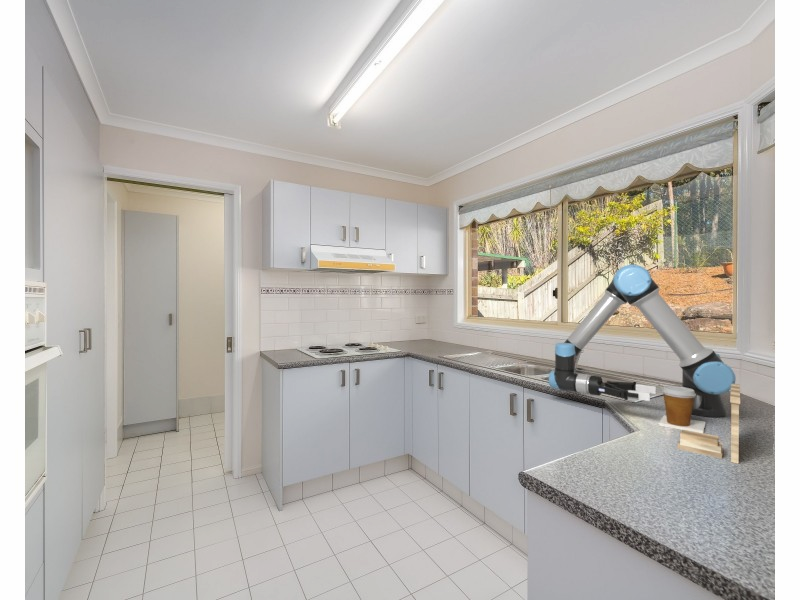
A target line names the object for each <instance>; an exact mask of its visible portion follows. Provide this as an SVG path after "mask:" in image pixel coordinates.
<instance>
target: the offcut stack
mask: <svg viewBox="0 0 800 600" xmlns="http://www.w3.org/2000/svg"><path fill="white" fill-rule="evenodd" d="M679 436H680V439H679V440H678V442H677V448H676V449H677V450H681V451H686V452H688V453H689V452H690V453H694V454H699V455H703V456H709V457H713V458H717V459H723V455H724V448H723V442H722V441H719V439H720V437H719V436H718V435H714V434H707V433H705V432H704V433H698V432H693V431H688V430H683V429H682V430H681V431H680V434H679Z"/></svg>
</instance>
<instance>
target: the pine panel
mask: <svg viewBox="0 0 800 600" xmlns="http://www.w3.org/2000/svg"><path fill="white" fill-rule="evenodd" d="M729 403H730V405H731V406H730V407H731V409H730V410H731V412H730V414H731V415H730V416H731V417H730V420H731V421H730V423H731V424H730V425H731V427H730V429H731V430H730V431H731V432H730V463H734V464H738V465H739V454H740V453H739V450H740V448H739V447H740V446H739V442H740V440H739V439H740V438H739V433H740V432H739V430H740V429H739V427H740V425H739V423H740V405H741V390H740V384H739V383H735V384H732V383H731V390H730V394H729Z"/></svg>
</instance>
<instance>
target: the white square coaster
mask: <svg viewBox="0 0 800 600" xmlns="http://www.w3.org/2000/svg"><path fill="white" fill-rule="evenodd" d="M658 423H659V424H658V426H659V427H666V428H671V429H676V430H681V431H682V429H683V430H688V431H693V432H698V433H704V434H705V429H704V428H706V421H702V420H696V419H691V420H690V425H689V426H677V425H672V424H670V423H668V422H667V417H666V414H664V415H663V416H662V417H661V419H660V421H659V422H658Z"/></svg>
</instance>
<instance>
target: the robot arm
mask: <svg viewBox="0 0 800 600" xmlns="http://www.w3.org/2000/svg"><path fill="white" fill-rule="evenodd" d="M659 291H660V287H659V285H658V284H657V283H656V282H655V280H654V279H653V278H652V275H651V274H650V272H649V270H647V268H645V267H644V266H641V265H638V264H627V265H624V266H622V267H620V268H619V269H618V270H617V271H615V274H614V276H613V278H612V280H611V282H610V283H609V285H607V287H606V289H604V293H605V294H604V295H603V296H602V297H601V298H600V299H599V301H598V302H596V304H595V305H594V306H593V307H592V309H591V310H590V311H589V313H587V315H586V316H585V317H584V319H582V320H581V322H580V323H579V324H578V326H577V327H576V328H575V329H574V330H573V331H572V332H571V334H570V335H569V336H568V337H567V339H566V340H565V341H564V342H557V343H556V344H555V345H554V346H555V347H554V355H555V356H554V361H555V362H554V365H555V367H554V370H551V371H550V372H549V374H548V384H549V387H550V388H552V389H556V390H560V391H568V392H573V393H580V395H584V394H587V395H588V394H589V395H593V396H601V395H602V394H604V395H608V396H612V397H614V398H615V397H616V398H620V399H624V401H628V400H629V399H634V400H640V401H644V402H645V401H646V402H651V394H652V395H657V386H656V385H655V386H654V385H649V384H648V385H646V384H638V383H637V381H633V382H631V381H630V382H629V381H611V380H607V381H606V382H605V381H604V382H603V379H602V376H599V375H590V374H586V373H576V371H575V370H576V369H575V366H576V365H575V364H576V358H577V356H578V355H579V354H580V353H581V352H582V351H583V349H585V347H586V346H587V345H588V344H589V343H590V341H591V340H592V339H593V338H594V337H595V335H596V334H597V333H598V332H600V330H601V329H602V328H603V326H604V325H605V324H606V323H607V322H608V321H609V319H611V317H612V316H614V314H615V313H616V311H618V310H619V308H620V307H621V306H622V305H626V304H628V305H629V306H633V307H636V308H637V309H638V310H639V312H641V314H642V315H643V316H644V318H646V320H647V321H648V322H649V323H650V325H651V326H652V327H653V328H654V330H655V331H656V333H658V334H659V335H660V336H661V338H662V339H663V340H664V342H665V343H666V344H667V345H668V347H669V348H670V349H671V350H672V351H673V353H674V354H675V355H676V357H678V359H679V367H680V368H681V370H682V372H681V373H682V383H681V384H682V386H681V387H685V388H690V389H693V390H694V392H695V394H696V396H695V397H694V403H693V408H692V414H691V415H694V416H700V417H707V416H708V418H722V417H726V416H727V409H726V406H725V403H724V401H723V398H722V396H721V395H722V394H723V395H724V394H726V393H728V392H729V391H731V383H732V384H736V381H737V380H736V374H735V372H734V370H733V369H732V368H731V367H730V366H729V365H728V364H726V363H724V361H723V360H722V358H721V355H720V354H719V353H716V352H715V351H714V350H713V349H712V348H709V347H708V348H707V347H704V345H703V344H702V343H701V342H700V340H698V338H697V337H696V336H695V335H694V334H693V332H692V331H691V330H690V329H689V328H688V327H687V325H686V324H685V323H684V322H683V321H682V319H681V318H680V317H679V316H678V314H677V313H676V312H675V311H674V310H673V309H672V308H671V306H670V305H669V304H668V303H667V301H665V299H664V298H663V297H662V296H661V295H660V292H659Z"/></svg>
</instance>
